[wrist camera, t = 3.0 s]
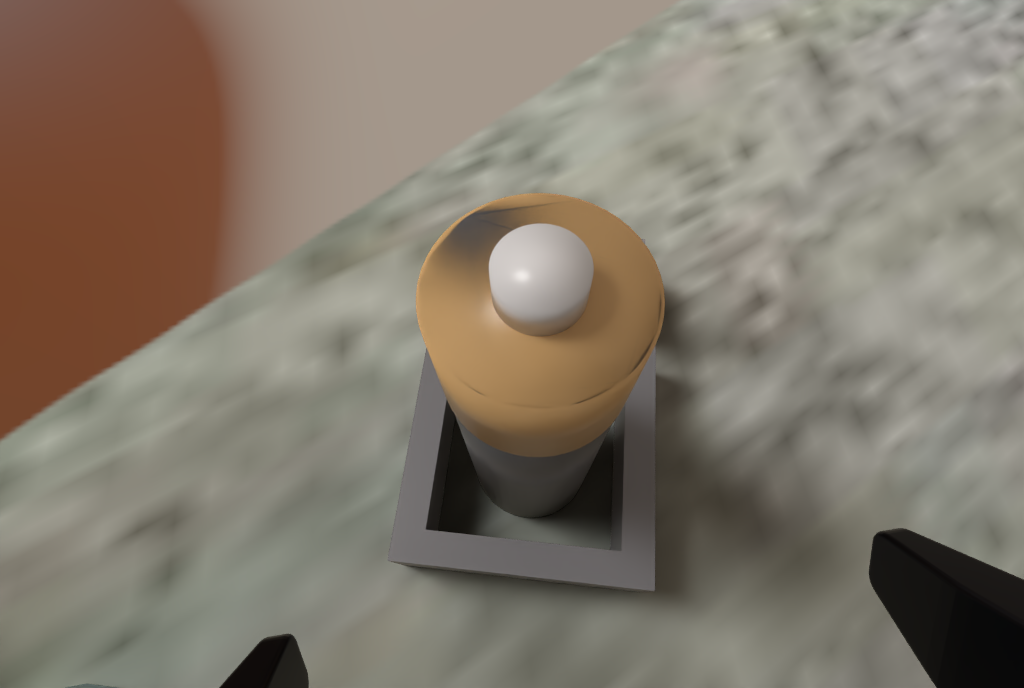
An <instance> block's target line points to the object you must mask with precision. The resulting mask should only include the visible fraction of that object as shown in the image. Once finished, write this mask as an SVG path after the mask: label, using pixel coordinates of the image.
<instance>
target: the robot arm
mask: <svg viewBox="0 0 1024 688" xmlns="http://www.w3.org/2000/svg"><path fill="white" fill-rule="evenodd" d="M869 578H870V582H871V584H872V587H873V589H874V590H875V592H876V594H877V595H878V597H879V598H880V600H881V602H882V603H883V605H884V606H885V608H886V610H887V611H888V613H889V614H890V616H891V617H892V619H893V621H894V622H895V624H896V625H897V627H898V628H899V630H900V632H901V633H902V635H903V636H904V638H905V639H906V641H907V643H908V644H909V646H910V647H911V649H912V651H913V652H914V654H915V655H916V657H917V658H918V660H919V662H920V663H921V665H922V666H923V668H924V669H925V671H926V672H927V674H928V675H929V677H930V678H931V680H932V681H933V683H934V684H935V686H936V687H937V688H1024V580H1023V579H1021V578H1019V577H1016V576H1014V575H1012V574H1009V573H1007V572H1005V571H1003V570H1000V569H998V568H996V567H993V566H991V565H989V564H986V563H984V562H982V561H979V560H977V559H975V558H972V557H970V556H968V555H966V554H963V553H961V552H959V551H956V550H954V549H952V548H949V547H947V546H945V545H942V544H940V543H938V542H936V541H933V540H931V539H929V538H926V537H924V536H922V535H919V534H917V533H915V532H912V531H910V530H907V529H903V528H898V529H892V530H886V531H880V532H878V533H877V534H876V535H875V536H874V538H873V544H872V551H871V559H870V566H869ZM308 687H309V681H308V673H307V669H306V667H305V664H304V661H303V658H302V655H301V652H300V650H299V647H298V644H297V641H296V639H295V637H294V636H293V635H291V634H283V635H277V636H272V637H267V638H264V639H263V640H262V641H260V642H259V643H258V644H257V646H256V647H255V648H254V649H253V650H252V651H251V652H250V654H249V655H248V656H247V657H246V658H245V659H244V660H243V661H242V663H241V664H240V665H239V666H238V667H237V668H236V669H235V670H234V672H233V673H232V674H231V675H230V676H229V677H228V678H227V679H226V681H225V682H224V683H223V684H222V685H221V686H220V687H219V688H308Z"/></svg>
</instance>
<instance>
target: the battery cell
mask: <svg viewBox="0 0 1024 688" xmlns="http://www.w3.org/2000/svg"><path fill="white" fill-rule="evenodd" d="M664 309H665V298H664V288H663V283H662V279H661V275H660V272H659V270H658V267H657V264H656V262H655V260H654V258H653V256H652V255H651V253H650V251H649V249H648V248H647V246H646V245H645V244H644V242H643V241H642V240H641V238H640V237H639V236H638V235H637V234H636V233H635V232H634V231H633V230H632V229H631V228H630V227H629V226H628V225H626V224H625V223H624V222H623V221H621V220H620V219H619V218H618V217H616V216H614V215H613V214H611V213H610V212H608V211H606V210H605V209H602V208H600V207H598V206H596V205H594V204H592V203H589V202H586V201H583V200H581V199H577V198H573V197H569V196H564V195H557V194H545V193H532V194H520V195H515V196H510V197H505V198H501V199H498V200H495V201H492V202H489V203H487V204H485V205H482V206H480V207H478V208H476V209H474V210H472V211H471V212H469V213H467V214H466V215H464V216H463V217H461V218H460V219H459V220H457V221H456V222H455V223H453V224H452V225H451V226H450V227H449V228H448V229H447V230H446V231H445V232H444V233H443V234H442V235H441V237H440V238H439V239H438V240H437V242H436V243H435V244H434V246H433V247H432V249H431V250H430V252H429V254H428V255H427V257H426V260H425V262H424V264H423V267H422V269H421V272H420V276H419V280H418V284H417V292H416V312H417V318H418V323H419V327H420V330H421V333H422V336H423V339H424V342H425V344H426V347H427V350H428V352H429V355H430V357H431V360H432V363H433V365H434V368H435V370H436V373H437V376H438V378H439V381H440V383H441V386H442V389H443V391H444V394H445V396H446V399H447V401H448V403H449V405H450V407H451V409H452V411H453V412H454V414H455V416H456V419H457V422H458V424H459V427H460V430H461V433H462V435H463V438H464V441H465V443H466V446H467V449H468V451H469V454H470V457H471V460H472V462H473V465H474V468H475V470H476V473H477V476H478V478H479V481H480V484H481V486H482V488H483V490H484V491H485V493H486V494H487V496H488V497H489V498H490V499H491V500H492V502H493V503H495V504H496V505H497V506H498V507H500V508H501V509H503V510H504V511H506V512H508V513H510V514H513V515H516V516H521V517H530V518H534V517H542V516H546V515H549V514H552V513H554V512H556V511H558V510H560V509H561V508H563V507H564V506H565V505H567V504H568V503H569V502H570V501H571V500H572V499H573V497H574V496H575V495H576V493H577V492H578V490H579V488H580V486H581V484H582V482H583V480H584V478H585V476H586V474H587V472H588V471H589V469H590V467H591V465H592V463H593V461H594V459H595V457H596V455H597V453H598V451H599V449H600V447H601V445H602V443H603V441H604V439H605V437H606V435H607V433H608V431H609V429H610V427H611V425H612V423H613V422H614V421H615V419H616V418H617V417H618V415H619V414H620V412H621V410H622V408H623V407H624V405H625V403H626V401H627V399H628V397H629V395H630V393H631V391H632V389H633V388H634V386H635V384H636V382H637V380H638V378H639V376H640V374H641V372H642V370H643V368H644V366H645V364H646V362H647V361H648V359H649V357H650V355H651V353H652V351H653V349H654V347H655V345H656V342H657V340H658V337H659V335H660V332H661V328H662V324H663V319H664Z"/></svg>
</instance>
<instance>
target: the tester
mask: <svg viewBox="0 0 1024 688" xmlns="http://www.w3.org/2000/svg"><path fill="white" fill-rule="evenodd" d="M641 240H642V241H643V242H644V244H645V239H641ZM655 398H656V345H655V347H654V349H653V351H652V353H651V355H650V357H649V359H648V361H647V362H646V364H645V366H644V368H643V370H642V372H641V374H640V376H639V378H638V380H637V382H636V384H635V386H634V388H633V389H632V391H631V393H630V395H629V397H628V399H627V401H626V403H625V405H624V407H623V408H622V410H621V412H620V414H619V415H618V417H617V418H616V419H615V423H614V453H613V483H612V513H611V543H610V550H606V549H597V548H587V547H578V546H569V545H560V544H551V543H542V542H533V541H524V540H515V539H506V538H497V537H488V536H479V535H470V534H461V533H452V532H443V531H438V527H439V521H440V514H441V508H442V501H443V495H444V488H445V481H446V475H447V468H448V462H449V455H450V449H451V442H452V436H453V429H454V423H455V414H454V412H453V411H452V409H451V407H450V405H449V403H448V401H447V399H446V396H445V394H444V391H443V389H442V386H441V383H440V381H439V378H438V376H437V373H436V370H435V368H434V365H433V363H432V360H431V357H430V355H429V352H428V350H427V348H426V353H425V359H424V364H423V369H422V375H421V380H420V386H419V391H418V397H417V402H416V408H415V413H414V418H413V424H412V429H411V435H410V440H409V446H408V451H407V456H406V462H405V467H404V473H403V478H402V484H401V489H400V494H399V500H398V505H397V511H396V516H395V522H394V527H393V533H392V538H391V543H390V549H389V554H388V560H387V561H391V562H394V563H398V564H401V565H407V566H416V567H425V568H433V569H442V570H451V571H460V572H468V573H477V574H486V575H495V576H503V577H512V578H521V579H529V580H538V581H547V582H556V583H564V584H573V585H582V586H591V587H599V588H608V589H617V590H626V591H634V592H648V591H655Z"/></svg>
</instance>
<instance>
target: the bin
mask: <svg viewBox="0 0 1024 688" xmlns="http://www.w3.org/2000/svg"><path fill="white" fill-rule="evenodd" d="M67 688H115V687H108V686H100V685H93V684H82V685H77V686H72V687H67Z"/></svg>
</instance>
